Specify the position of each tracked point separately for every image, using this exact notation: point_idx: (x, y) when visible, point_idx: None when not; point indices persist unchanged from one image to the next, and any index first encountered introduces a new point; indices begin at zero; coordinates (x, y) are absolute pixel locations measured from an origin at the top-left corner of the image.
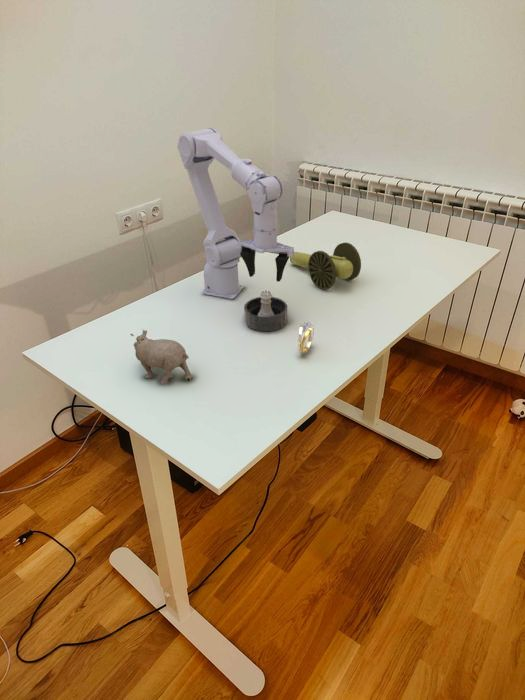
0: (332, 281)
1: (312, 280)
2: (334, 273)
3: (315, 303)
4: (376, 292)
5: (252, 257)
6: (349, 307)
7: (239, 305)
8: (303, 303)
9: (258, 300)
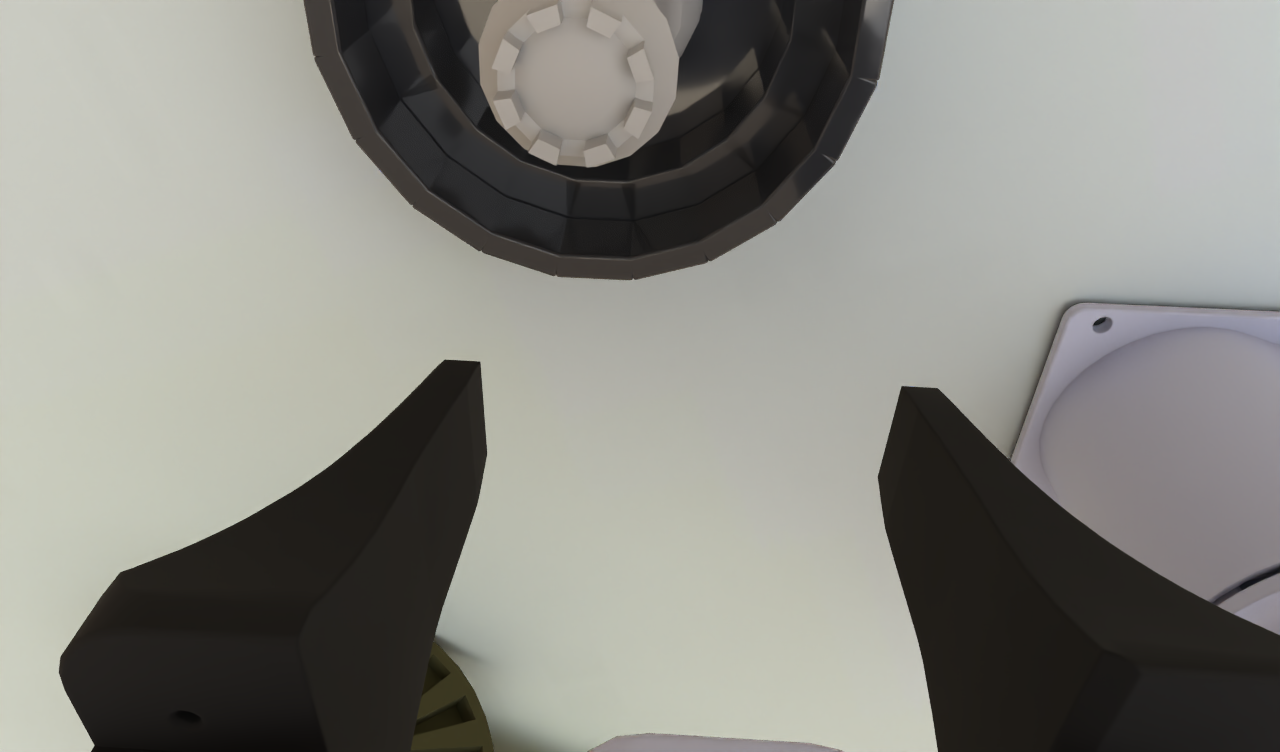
0: None
1: (462, 677)
2: None
3: (315, 428)
4: (12, 650)
5: (976, 690)
6: (40, 440)
7: (982, 217)
8: None
9: (755, 192)
